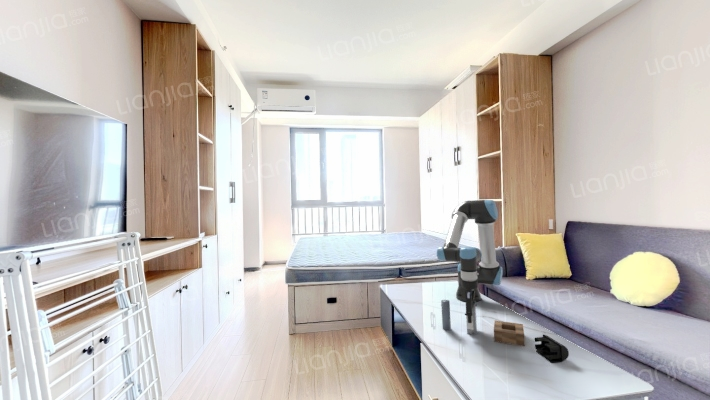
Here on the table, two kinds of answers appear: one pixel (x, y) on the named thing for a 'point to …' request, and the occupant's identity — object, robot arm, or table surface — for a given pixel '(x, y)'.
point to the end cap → (551, 349)
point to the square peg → (473, 321)
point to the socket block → (509, 333)
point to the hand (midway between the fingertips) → (471, 324)
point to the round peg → (446, 314)
